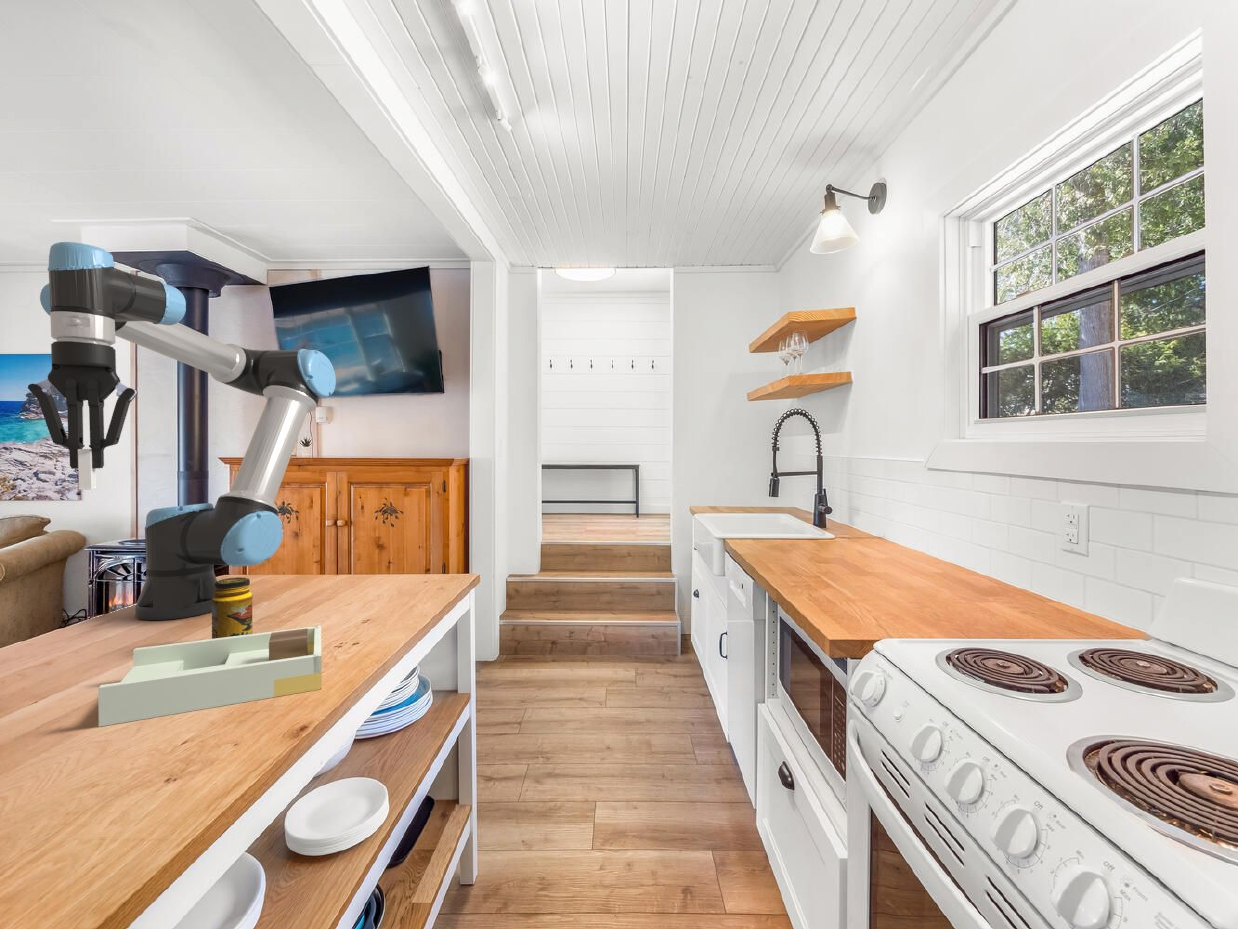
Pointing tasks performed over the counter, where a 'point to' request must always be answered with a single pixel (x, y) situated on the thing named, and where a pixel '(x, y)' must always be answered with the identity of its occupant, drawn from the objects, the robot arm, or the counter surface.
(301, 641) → the block
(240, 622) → the condiment
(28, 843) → the counter surface
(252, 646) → the box
